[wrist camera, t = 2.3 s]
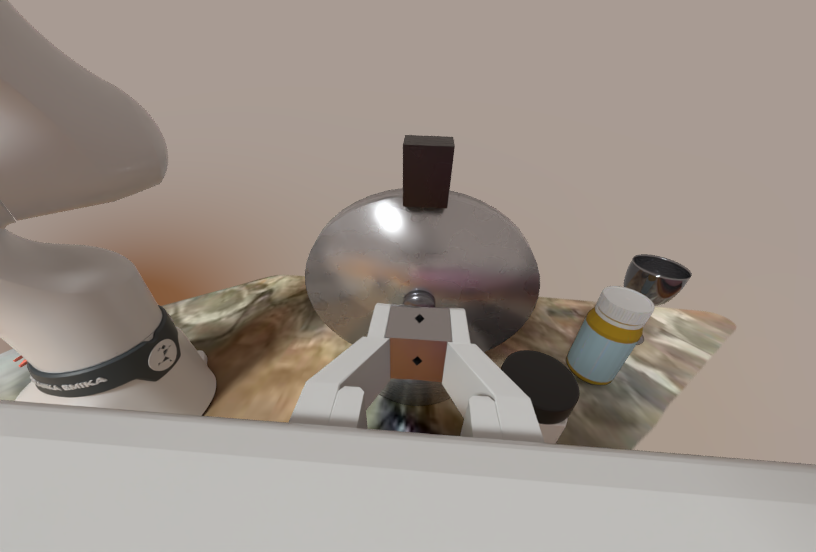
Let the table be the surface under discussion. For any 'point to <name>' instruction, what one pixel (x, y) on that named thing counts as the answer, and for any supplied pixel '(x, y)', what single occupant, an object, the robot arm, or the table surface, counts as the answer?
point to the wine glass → (656, 278)
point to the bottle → (609, 334)
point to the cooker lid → (423, 254)
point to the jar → (544, 389)
